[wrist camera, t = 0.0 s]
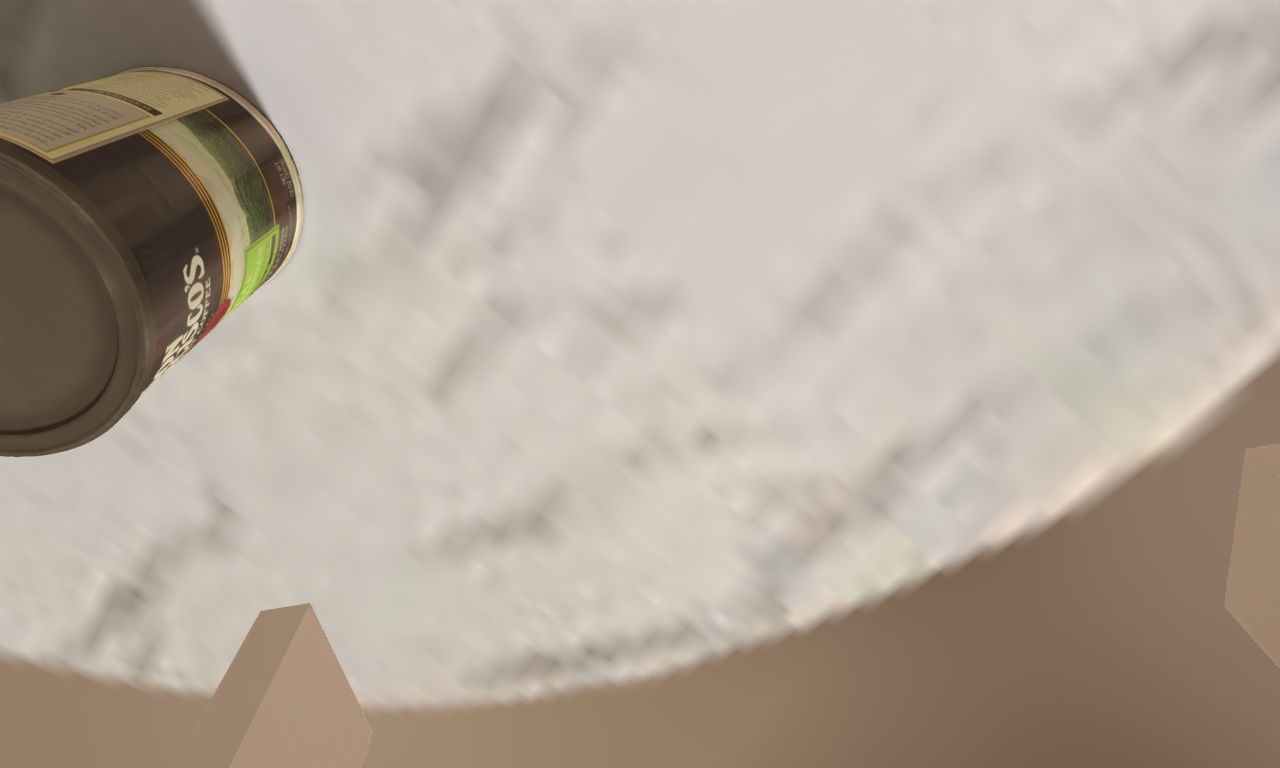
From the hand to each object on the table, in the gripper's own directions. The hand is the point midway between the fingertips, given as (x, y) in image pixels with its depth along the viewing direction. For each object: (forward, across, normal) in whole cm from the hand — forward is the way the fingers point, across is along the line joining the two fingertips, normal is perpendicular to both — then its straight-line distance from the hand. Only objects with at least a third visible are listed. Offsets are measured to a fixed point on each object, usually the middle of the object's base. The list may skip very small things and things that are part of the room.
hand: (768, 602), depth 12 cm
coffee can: (+28, -21, +3) cm, 35 cm away
